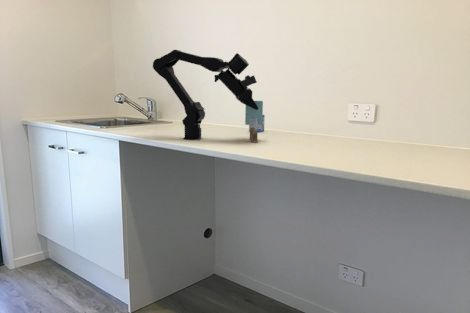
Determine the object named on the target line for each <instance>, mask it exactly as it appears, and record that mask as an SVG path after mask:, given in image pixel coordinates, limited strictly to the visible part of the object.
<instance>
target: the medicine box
mask: <svg viewBox="0 0 470 313" xmlns="http://www.w3.org/2000/svg"><path fill="white" fill-rule="evenodd" d="M265 116H266V115H265V114H263V116H262V125H258V119H257V118H250V119H249V125H248V132H249V133H250V127H254V128H255V130H257V131H258V133H263V132H265Z"/></svg>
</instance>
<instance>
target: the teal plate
mask: <svg viewBox="0 0 470 313" xmlns="http://www.w3.org/2000/svg"><path fill="white" fill-rule="evenodd" d="M254 102H255V103H256V105H257V107H258V110H256V109H253V108H251V107H249V106H247V105H245V113H244V114H245V121H244V125H245V126H249V119H250V118H257V119H258V125H262V116H263V115H264V112H263V107H264V101H263V100H254Z"/></svg>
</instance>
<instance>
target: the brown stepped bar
mask: <svg viewBox="0 0 470 313" xmlns="http://www.w3.org/2000/svg"><path fill="white" fill-rule="evenodd" d="M258 133H259V132H258V131H257V130H255V128H254V127H250V132H249V140H250V141H251V143H255V144H256V143H258Z"/></svg>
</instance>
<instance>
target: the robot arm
mask: <svg viewBox="0 0 470 313" xmlns="http://www.w3.org/2000/svg"><path fill="white" fill-rule="evenodd" d="M179 61H182V62H185V63H189V64H192V65H197V66H201V67H203V69H205V70H208V71H210V72H213V73H218V74H215V75H214V76H213V77H214V83H217V82H218V81H220V82H221V83H223V85H224V86H225V87H226V88H227V89H228V91H230V93H232V94H233V95H234V96H235V99H236V100H238V102H240V103H242V104H243V105H245V106H246V105H247V106H249V107H251V108H253V109H256V110H258V107H257V105H256V103H255V102H254V101H255V100H254V99H253V91H252V89H251V88H248V87H249V86H252V85H254V84H257V83H258V81H257V78H256V77H255V75H251V76H250V75H249V74H248V75H245V76H244V79H243V80H241V79H239V78H237V76H236V75H241V73H242V72H243V71H244V70H246V69H247V67H249V65H250V63H249V62H248V61H247V60H246V59H245V58H244V57H242V56H241V54H239V53H238V52H237V53H235V55H234V56H233V57H232V58H231V59H230V60H229V61H224V59H222V58H219V57H214V56H213V57H210V56H208V57H207V56H200V55H196V54H193V53H188V52H184V51H181V50H178V49H172V50H171V51H169V53H166V54H164V55H163V56H161V57H159V58H155V59H154V61H153V62H152V69H153V70H154V72H156V73H157V74H158V76H160V77H162V78H163V79H164V80H165V81H166V82H167V83H168V86H169V87H170V88H171V90H172V91H173V92H174V94H175V95H176V97H177V98H178V99H179V102H180V103H181V104H182V105H183V108H184V113H185V114H186V116H185V117H184V118H183V119H182V124H183V126H184V137H183V140H199V139H201V138H202V127H201V124H202V121H203V120H204V119H205V117H206V112H205V107H203V106H202V104H201V102H200V101H194V100H193V98H192V97H191V96H190V94H189V93H188V92H187V91H186V89H185V88H184V86H183V85H182V83H181V81H180V80H179V78H178V77H177V75H176V74H175V70H174V66H175V65H176V64H177V63H178V62H179ZM225 69H226V70H225Z"/></svg>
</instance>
